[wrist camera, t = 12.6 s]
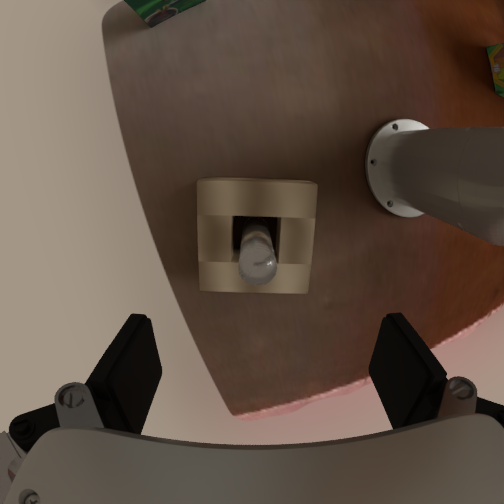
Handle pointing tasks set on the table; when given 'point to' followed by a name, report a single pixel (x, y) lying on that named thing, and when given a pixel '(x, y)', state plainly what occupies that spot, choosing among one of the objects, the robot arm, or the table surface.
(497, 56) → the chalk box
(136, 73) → the table surface
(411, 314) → the table surface
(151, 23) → the coffee box
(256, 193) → the wooden square hole block
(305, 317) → the table surface
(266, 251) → the steel peg
